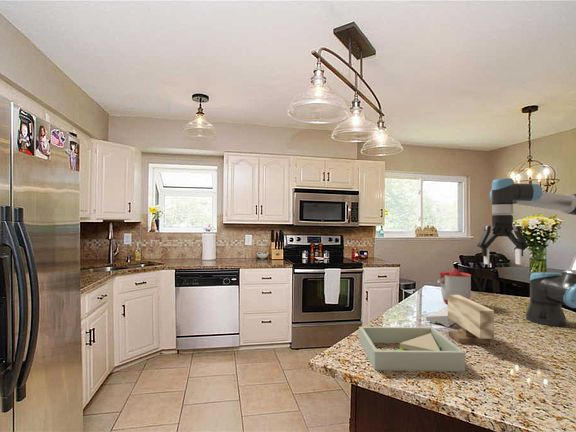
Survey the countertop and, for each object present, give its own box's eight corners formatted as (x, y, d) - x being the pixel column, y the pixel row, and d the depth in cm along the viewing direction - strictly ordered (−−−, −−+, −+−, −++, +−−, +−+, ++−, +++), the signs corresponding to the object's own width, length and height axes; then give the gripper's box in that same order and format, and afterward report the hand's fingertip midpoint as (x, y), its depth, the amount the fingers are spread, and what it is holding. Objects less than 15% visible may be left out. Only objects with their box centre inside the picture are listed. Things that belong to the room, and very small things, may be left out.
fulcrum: (477, 336, 131) (477, 323, 131) (490, 343, 123) (490, 330, 123) (448, 335, 131) (448, 323, 131) (458, 343, 123) (458, 330, 123)
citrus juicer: (433, 299, 190) (433, 265, 190) (464, 300, 188) (464, 266, 188) (442, 306, 175) (442, 270, 175) (476, 307, 172) (476, 270, 173)
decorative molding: (428, 327, 148) (450, 326, 141) (425, 316, 149) (447, 315, 142) (455, 312, 171) (475, 311, 164) (453, 303, 172) (472, 302, 165)
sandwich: (461, 354, 114) (461, 340, 114) (437, 372, 101) (437, 356, 101) (419, 342, 125) (419, 329, 125) (393, 356, 112) (393, 342, 112)
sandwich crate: (432, 342, 124) (432, 327, 124) (465, 371, 100) (465, 352, 100) (359, 342, 124) (359, 326, 124) (374, 370, 100) (374, 351, 101)
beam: (459, 317, 139) (459, 294, 139) (494, 338, 115) (493, 310, 115) (447, 317, 139) (447, 294, 139) (480, 338, 115) (479, 310, 115)
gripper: (525, 214, 140) (525, 263, 140) (468, 214, 141) (468, 262, 141) (538, 214, 133) (538, 265, 133) (478, 214, 133) (478, 265, 133)
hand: (502, 264), depth 137 cm, fingers open, 13 cm apart
